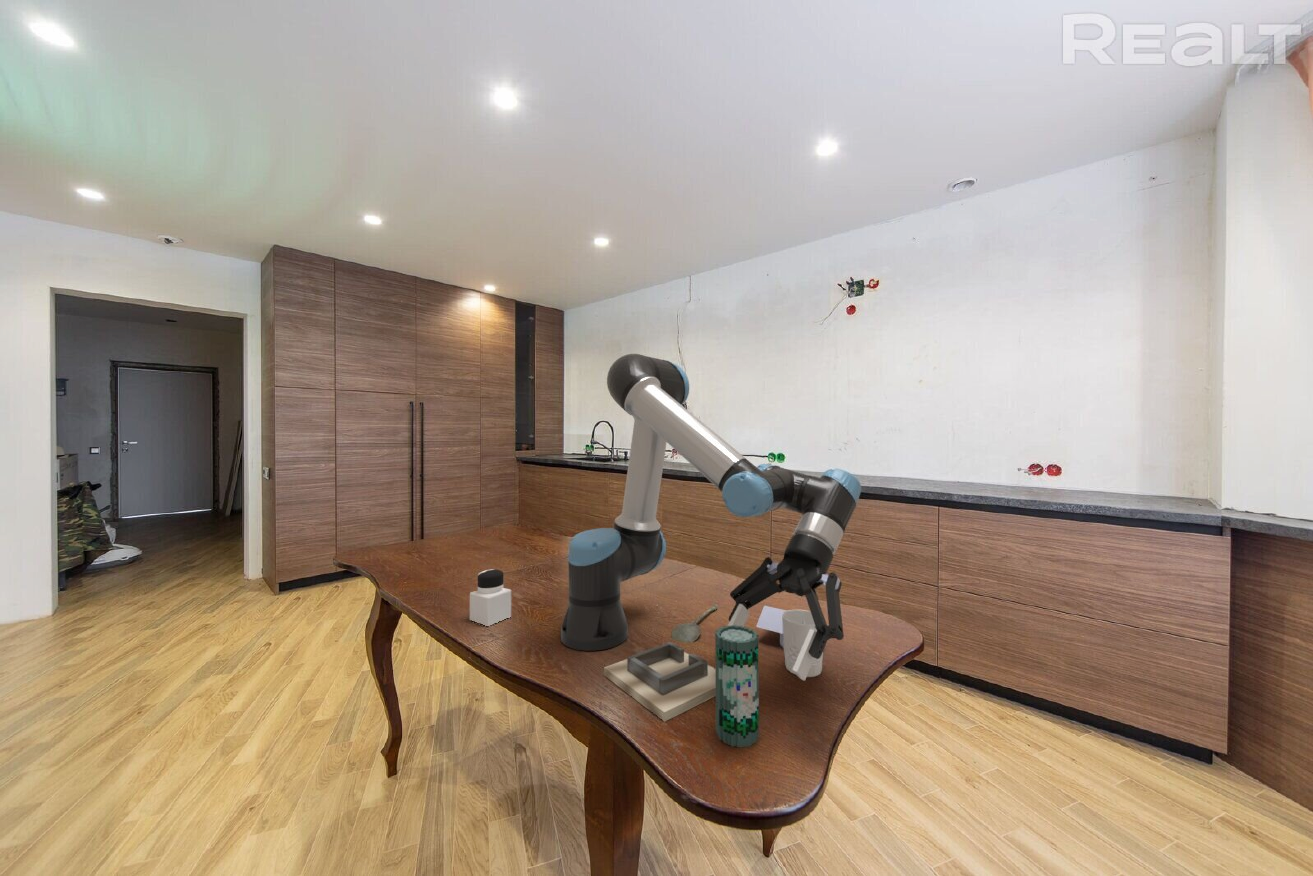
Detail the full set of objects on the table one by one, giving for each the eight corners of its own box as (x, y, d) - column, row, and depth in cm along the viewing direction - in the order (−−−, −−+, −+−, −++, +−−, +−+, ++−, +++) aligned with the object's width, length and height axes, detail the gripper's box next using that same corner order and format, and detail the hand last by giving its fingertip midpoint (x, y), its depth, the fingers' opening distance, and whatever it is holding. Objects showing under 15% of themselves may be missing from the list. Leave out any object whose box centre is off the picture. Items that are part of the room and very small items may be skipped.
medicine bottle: (511, 617, 113) (511, 570, 113) (487, 627, 107) (487, 577, 107) (493, 612, 116) (493, 565, 117) (469, 621, 110) (469, 572, 111)
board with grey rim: (604, 675, 85) (604, 654, 85) (669, 650, 94) (669, 631, 94) (664, 722, 70) (664, 696, 70) (733, 687, 80) (733, 664, 80)
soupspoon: (665, 644, 100) (692, 651, 97) (666, 629, 100) (692, 636, 97) (704, 608, 119) (727, 613, 116) (704, 595, 119) (728, 601, 116)
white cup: (820, 683, 81) (819, 628, 82) (777, 672, 86) (776, 619, 86) (828, 665, 88) (828, 614, 88) (788, 655, 92) (788, 606, 92)
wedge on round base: (756, 642, 98) (816, 659, 91) (755, 611, 99) (815, 625, 91) (772, 628, 106) (828, 643, 98) (771, 599, 106) (828, 612, 98)
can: (724, 749, 64) (723, 644, 64) (711, 723, 70) (711, 627, 70) (764, 744, 65) (763, 640, 65) (748, 719, 71) (748, 624, 71)
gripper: (893, 573, 71) (846, 705, 61) (764, 545, 90) (713, 642, 80) (877, 544, 67) (824, 679, 58) (747, 522, 87) (691, 620, 77)
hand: (759, 658), depth 69 cm, fingers open, 13 cm apart
